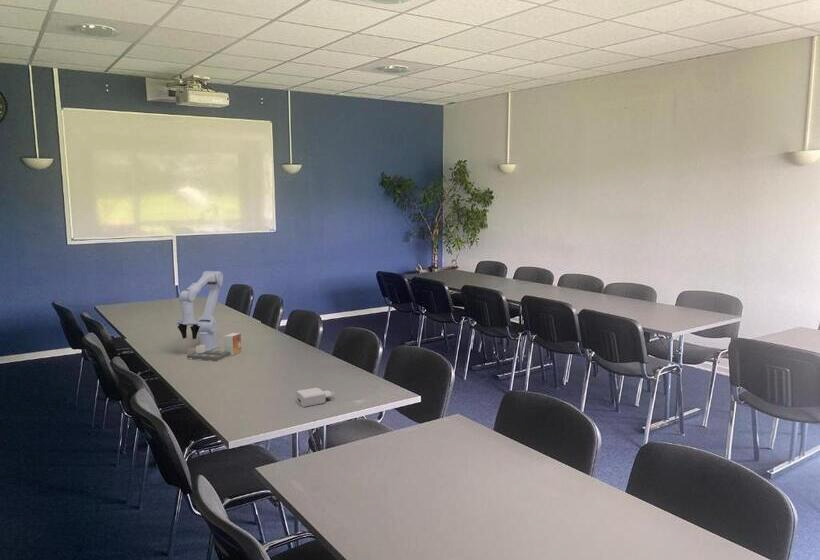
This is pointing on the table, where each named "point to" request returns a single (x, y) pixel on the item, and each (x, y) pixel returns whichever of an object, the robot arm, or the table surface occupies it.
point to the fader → (200, 348)
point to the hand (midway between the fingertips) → (189, 338)
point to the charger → (312, 396)
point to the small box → (232, 343)
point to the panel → (209, 355)
